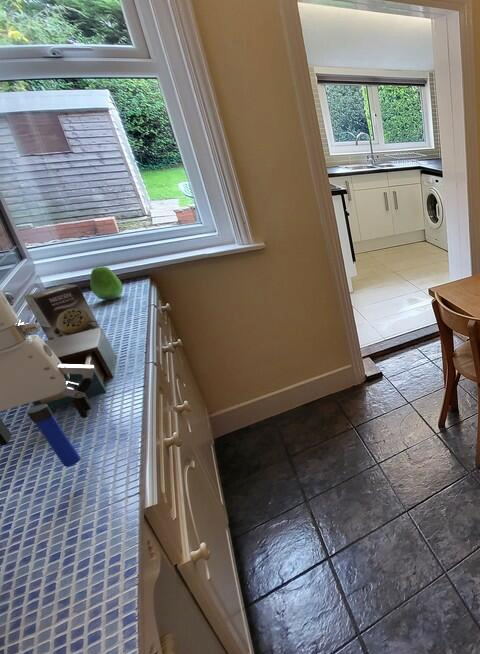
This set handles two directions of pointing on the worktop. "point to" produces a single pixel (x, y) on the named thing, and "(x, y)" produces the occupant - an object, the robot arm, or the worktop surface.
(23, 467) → the worktop surface
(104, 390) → the drawer
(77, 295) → the coffee box
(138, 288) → the worktop surface
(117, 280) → the avocado
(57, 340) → the cabinet
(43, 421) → the marker
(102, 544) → the worktop surface
